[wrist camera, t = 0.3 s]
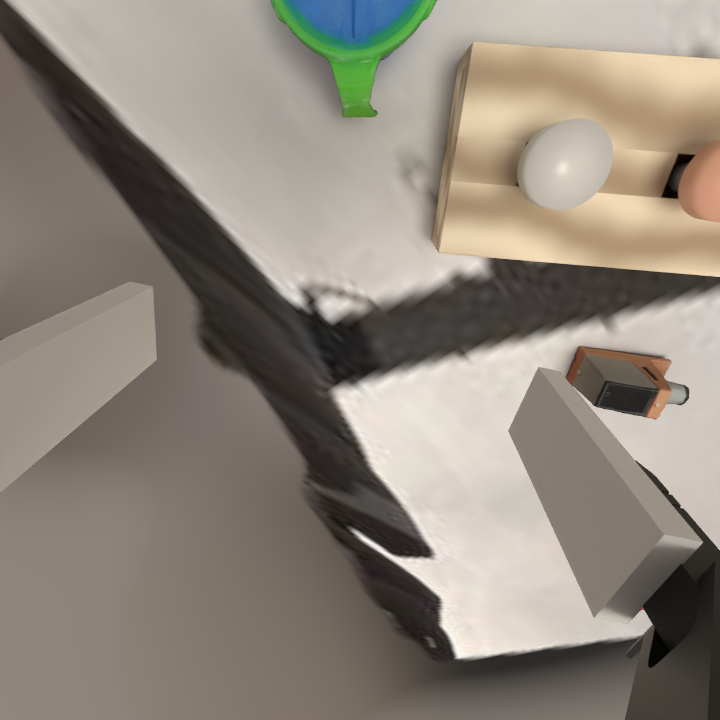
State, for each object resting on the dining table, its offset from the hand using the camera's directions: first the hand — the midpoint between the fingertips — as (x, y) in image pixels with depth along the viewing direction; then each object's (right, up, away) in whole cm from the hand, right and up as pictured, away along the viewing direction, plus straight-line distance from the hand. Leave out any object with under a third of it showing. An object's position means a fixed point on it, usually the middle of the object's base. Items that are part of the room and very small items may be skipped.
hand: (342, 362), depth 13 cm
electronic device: (+29, -1, +30) cm, 41 cm away
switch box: (+20, +17, +21) cm, 34 cm away
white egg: (+14, +15, +17) cm, 27 cm away
